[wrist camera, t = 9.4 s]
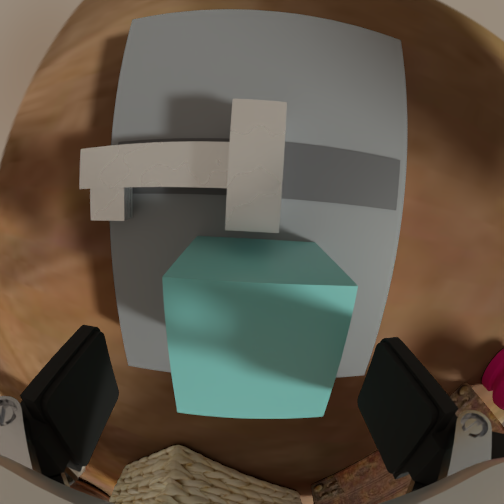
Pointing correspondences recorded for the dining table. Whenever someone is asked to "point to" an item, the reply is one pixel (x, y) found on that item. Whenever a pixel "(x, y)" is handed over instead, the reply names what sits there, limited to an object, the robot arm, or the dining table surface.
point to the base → (295, 153)
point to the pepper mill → (495, 379)
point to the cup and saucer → (89, 490)
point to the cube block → (255, 327)
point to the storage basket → (193, 482)
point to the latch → (199, 169)
